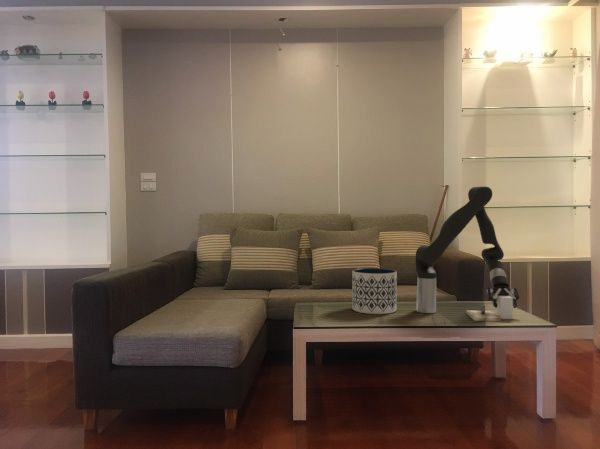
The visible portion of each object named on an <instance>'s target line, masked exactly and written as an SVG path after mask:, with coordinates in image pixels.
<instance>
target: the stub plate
mask: <svg viewBox="0 0 600 449" xmlns="http://www.w3.org/2000/svg"><path fill="white" fill-rule="evenodd" d="M465 312H466V313H465V314H466V315H467V316H468V317H470V318H471V319H472V320H473V321H478V322H479V321H481V322H483V321H484V322H485V321H486V322H488V321H489V322H502V319H501V317H499V316H498V315H497V313H495V312H494V311H492V310H486V305H483V304H481V305H480V310H471V309H470V310H469V309H467V310H466V311H465Z"/></svg>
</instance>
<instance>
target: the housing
mask: <svg viewBox="0 0 600 449" xmlns="http://www.w3.org/2000/svg"><path fill="white" fill-rule="evenodd" d="M496 301H497V308H496V310H497V311H496V315H498V316H499V317H501V320H502V319H504V320H508V319H509V320H512V319H513V310H514V308H513V298H512V297H510V296H509V295H508V296H497V298H496Z"/></svg>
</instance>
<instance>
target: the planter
mask: <svg viewBox="0 0 600 449" xmlns="http://www.w3.org/2000/svg"><path fill="white" fill-rule="evenodd" d="M351 272H352V274H351V276H352V277H351V278H352V279H351V284H352V285H351V287H352V288H351V292H352V293H351V296H352V298H351V301H352V302H351V306H352V307H351V308H352V310H354V312H357V313H360V314H367V315H387V314H392V313H395V312H396V311H397V308H398V307H397V303H398V302H397V297H398V296H397V294H398V293H397V292H398V287H397V285H398V284H397V282H398V279H397V278H398V275H397V272H398V271H397V270H395V269H391V268H375V267H374V268H373V267H366V268H365V267H364V268H355V269H353V270H352V271H351Z"/></svg>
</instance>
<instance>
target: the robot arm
mask: <svg viewBox="0 0 600 449" xmlns="http://www.w3.org/2000/svg"><path fill="white" fill-rule="evenodd" d="M467 192H468V193H467V198H468V202H467V203H465V204H464V205H463V206H461V207H459V208H458V209H457V210H455V211H454V212H453V213H452V214H450V215H449V217H448V218H447V219H446V220H445V221H444V223H443V224H442V226H441V228H440V232H439V234H438V236H437V237H436V238H435V239H434V241H433V242H431V244H429V245H426V244H424V245H421V246H419V247H417V249H416V252H415V271H416V276H417V279H416V281H417V282H416V283H417V286H416V288H417V290H416V305H415V306H416V312H417V313H422V314H423V313H424V314H435V313H436V312H437V272H436V270H435V269H434V267H433V266H434V265H435V264H436V263H437V262H438V261H439V260H440V259H441V257H442V255H444V253H445V251H446V250H447V248H448V247H449V246H450V245H451V243H453V241H455V239H456V238H457V237H458V236H459V235H460V233H461V232H462V231H463V230H464V229H465V228H466V227H467V225H468V224H470V221H472V220H473V218H474V217H475V218H476V221H477V226H478V228H479V232H480V236H481V241H482V243H483V244H484V245H492V246H493V247H487V248H483V249H482V250H481V258H482V260H483V261H484V263H485V264H486V266H487V268H488V272H489V280H490V284H491V288H490V287H487V288H486V297H487V300H488V301H492V302H491V303H492V306H493V307H494V308H495V309H497V296H510V297H512V298H513V309H516V308H517V306H518V303H517V302H518V301H519V299H520V295H519V291H518V289H517V288H516V287H513V288H510V285H509V281H508V276H507V274H506V272H505V267H504V265H503V263H502V261H500V260H502V259H503V258H504V256H505V255H504V251H503V248H502V247H501V245H500V243H499V242H498V238H497V234H496V231H495V226H494V224H493V223H492V221H491V218H490V217H489V215H488V213H487V211H486V208H485V206H487V204H488V203H489V202H490V201H491V200H492V197H493V190H492V188H491V187H489V186H486V185H478V186H472V187H471V188H470V189H469V191H467ZM492 293H493V296H492Z"/></svg>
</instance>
